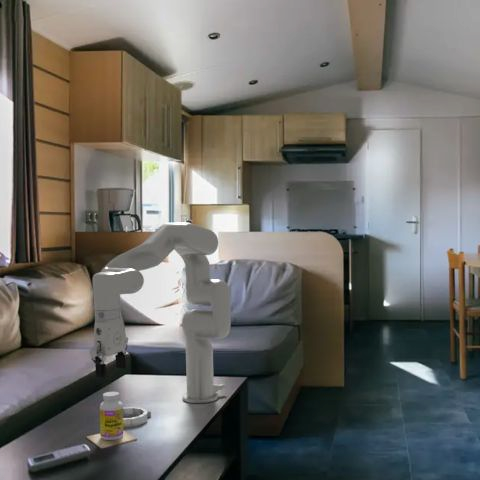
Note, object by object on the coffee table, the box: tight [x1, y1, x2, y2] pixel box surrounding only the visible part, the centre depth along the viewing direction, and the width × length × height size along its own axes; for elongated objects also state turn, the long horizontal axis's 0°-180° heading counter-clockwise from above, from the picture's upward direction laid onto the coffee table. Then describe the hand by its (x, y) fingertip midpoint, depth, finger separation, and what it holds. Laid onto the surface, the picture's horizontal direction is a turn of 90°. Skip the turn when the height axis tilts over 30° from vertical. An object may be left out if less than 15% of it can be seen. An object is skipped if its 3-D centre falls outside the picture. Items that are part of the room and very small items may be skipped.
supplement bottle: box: [99, 391, 124, 440], centre depth 186 cm, size 7×7×13 cm
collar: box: [123, 406, 152, 428], centre depth 202 cm, size 15×12×2 cm
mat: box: [85, 429, 138, 449], centre depth 186 cm, size 11×11×1 cm
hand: (111, 372), depth 186 cm, fingers open, 9 cm apart
